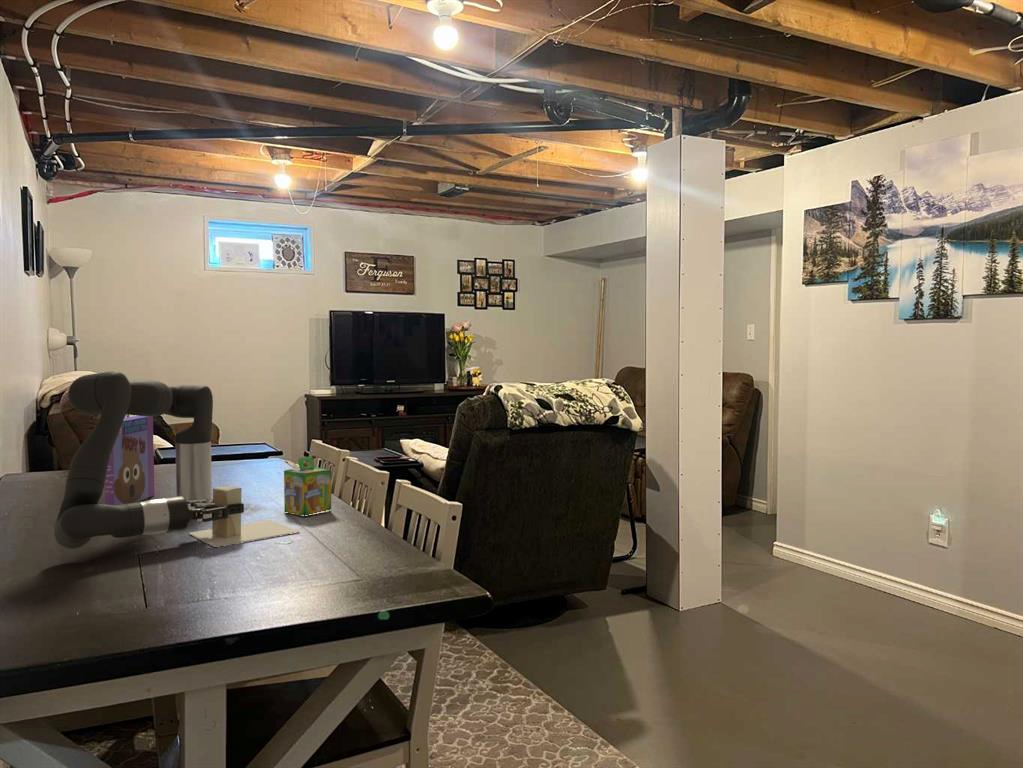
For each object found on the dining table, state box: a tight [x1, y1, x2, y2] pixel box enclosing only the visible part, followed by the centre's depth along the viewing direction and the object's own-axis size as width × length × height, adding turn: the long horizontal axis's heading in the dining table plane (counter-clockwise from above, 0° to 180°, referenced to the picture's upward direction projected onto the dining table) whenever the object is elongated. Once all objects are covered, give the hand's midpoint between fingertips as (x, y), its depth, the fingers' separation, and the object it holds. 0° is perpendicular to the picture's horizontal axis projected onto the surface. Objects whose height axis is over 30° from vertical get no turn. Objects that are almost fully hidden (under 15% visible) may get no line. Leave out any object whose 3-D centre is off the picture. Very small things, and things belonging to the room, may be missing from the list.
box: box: [211, 485, 243, 538], centre depth 172 cm, size 5×4×11 cm
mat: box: [188, 519, 300, 548], centre depth 175 cm, size 16×20×1 cm
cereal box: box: [104, 415, 155, 505], centre depth 210 cm, size 17×5×24 cm, turn 179°
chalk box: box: [283, 455, 332, 517], centre depth 197 cm, size 9×9×15 cm
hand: (237, 505), depth 173 cm, fingers closed on box, 6 cm apart
